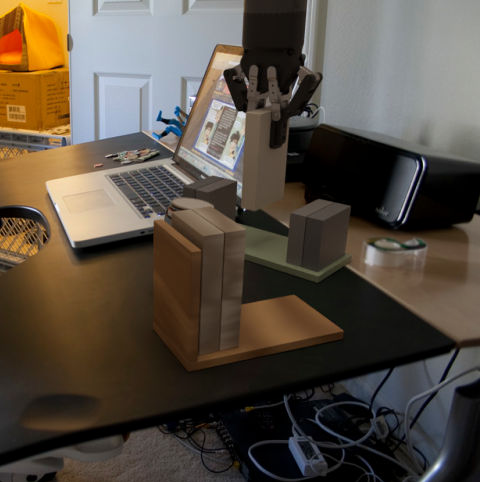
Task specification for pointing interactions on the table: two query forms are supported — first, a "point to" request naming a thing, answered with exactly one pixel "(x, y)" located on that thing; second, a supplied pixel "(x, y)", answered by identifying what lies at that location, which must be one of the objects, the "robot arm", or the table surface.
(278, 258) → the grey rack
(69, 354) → the table surface
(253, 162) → the brown tall flat block
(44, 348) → the table surface
